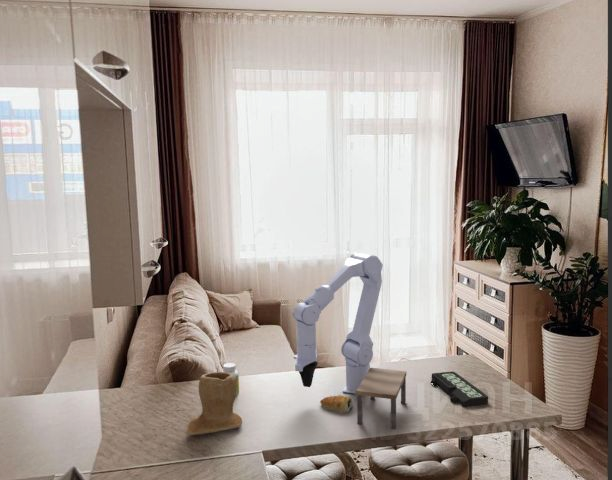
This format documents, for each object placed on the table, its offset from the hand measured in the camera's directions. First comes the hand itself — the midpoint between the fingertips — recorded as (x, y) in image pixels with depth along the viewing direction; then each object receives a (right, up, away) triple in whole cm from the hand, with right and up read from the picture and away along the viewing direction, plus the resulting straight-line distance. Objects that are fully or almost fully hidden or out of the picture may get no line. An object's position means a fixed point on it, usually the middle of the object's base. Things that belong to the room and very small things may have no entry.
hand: (307, 385), depth 158 cm
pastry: (+9, -6, -3) cm, 11 cm away
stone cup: (-26, -8, -13) cm, 30 cm away
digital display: (+47, -4, +6) cm, 48 cm away
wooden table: (+22, -6, -7) cm, 24 cm away
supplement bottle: (-25, -5, +9) cm, 27 cm away
